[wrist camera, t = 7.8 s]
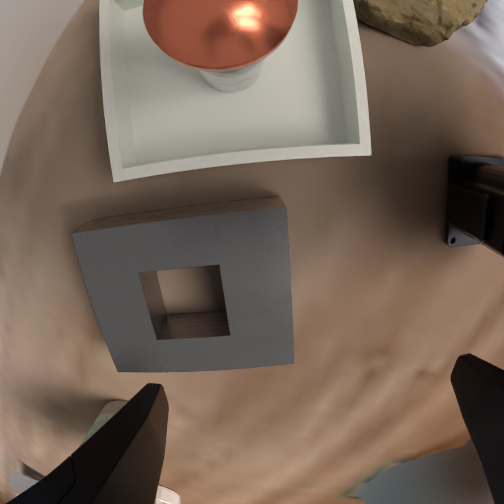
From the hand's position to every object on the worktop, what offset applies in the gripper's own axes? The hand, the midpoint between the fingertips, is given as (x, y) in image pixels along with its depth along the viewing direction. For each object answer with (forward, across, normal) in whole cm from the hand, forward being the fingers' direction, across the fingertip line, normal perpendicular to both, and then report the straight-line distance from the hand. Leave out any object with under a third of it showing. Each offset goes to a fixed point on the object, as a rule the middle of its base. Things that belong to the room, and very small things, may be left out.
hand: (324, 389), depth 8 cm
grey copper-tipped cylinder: (+12, +2, -11) cm, 16 cm away
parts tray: (+12, +2, -11) cm, 17 cm away
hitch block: (+12, +6, +2) cm, 14 cm away
